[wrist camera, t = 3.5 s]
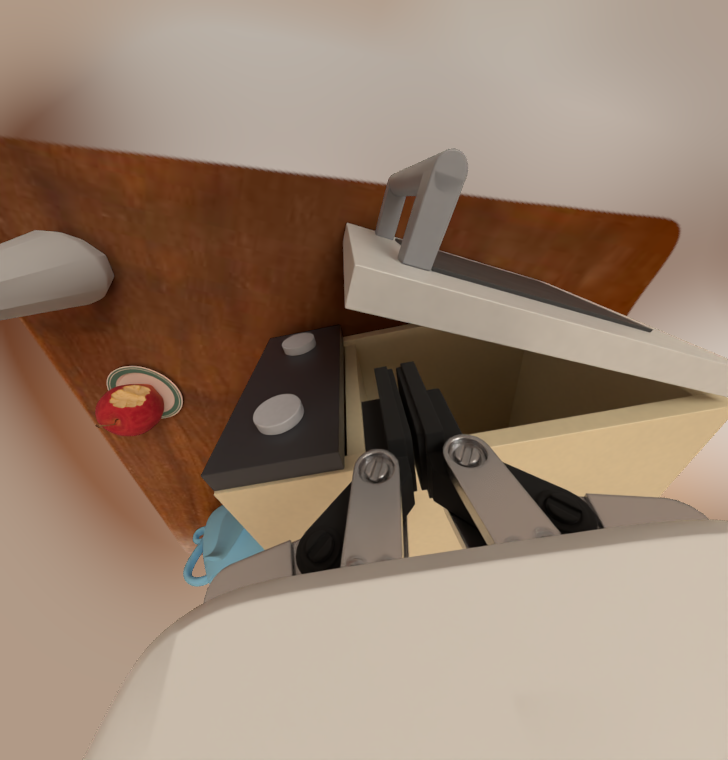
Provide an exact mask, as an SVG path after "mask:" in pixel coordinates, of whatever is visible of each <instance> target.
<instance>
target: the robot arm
mask: <svg viewBox="0 0 728 760" xmlns="http://www.w3.org/2000/svg"><path fill="white" fill-rule="evenodd" d="M374 372H375V378H376V383H377V389H378V394H379V399H375V400H369V401H364V402H361V404H362V416H363V427H364V439H365V450H366V452H365V453H363V454H362V455H361V456H360V457H359V458H358V459H357V461H356V462H355V465H354V469H353V476H352V481H351V482H350V484H349V485H348V486H347V487H346V488H345V489H344V490H343V491H342V492H341V493H340V495H339V496H338V497H337V498H336V499H335V500H334V501H333V502H332V503H331V504H330V506H329V507H328V508H327V509H326V510H325V511H324V512H323V513H322V514H321V515H320V517H319V518H318V519H317V520H316V521H315V522H314V523H313V524H312V525H311V526H310V527H309V529H308V530H307V531H306V532H305V533H304V535H303V536H302V537H301V539H299V540H296V541H294V542H292V541H291V540H288V541H286V542H283V543H281V544H278V545H276V546H274V547H271V548H269V549H266V550H264V551H262V552H259V553H257V554H254V555H252V556H249V557H247V558H245V559H242V560H240V561H237V562H235V563H232V564H230V565H228V566H227V567H225V568H224V569H222V570H221V571H220V572H219V573H218V574H217V575H216V576H215V577H214V578H213V580H212V582H211V583H210V585H209V587H208V589H207V592H206V595H205V598H204V603H203V604H201V605H200V606H198V607H196V608H194V609H193V610H191V611H190V612H188V613H187V614H185V615H184V616H182V617H181V618H179V620H177V621H176V622H174V623H173V624H172V625H171V626H169V627H168V628H167V629H165V630H164V631H163V632H162V633H161V634H160V635H159V636H158V637H157V638H156V639H155V640H154V641H153V642H152V643H151V644H150V645H149V646H148V647H147V648H146V650H145V651H144V652H143V653H142V655H141V656H140V657H139V659H138V660H137V661H136V663H135V664H134V666H133V668H132V669H131V670H130V672H129V674H128V675H127V677H126V678H125V680H124V682H123V683H122V686H121V687H120V689H119V690H118V692H117V694H116V696H115V698H114V699H113V701H112V703H111V705H110V707H109V709H108V711H107V713H106V715H105V716H104V718H103V720H102V722H101V724H100V726H99V727H98V729H97V731H96V733H95V735H94V738H93V739H92V742H91V744H90V746H89V747H88V749H87V751H86V753H85V755H84V757H83V759H82V760H728V521H725V520H709V519H708V518H707V517H706V516H705V515H704V514H703V513H701V512H699V511H698V510H696V509H695V508H693V507H691V506H690V505H687V504H685V503H682V502H680V501H677V500H673V499H668V498H659V497H642V496H624V495H607V494H589V493H586V494H585V496H584V497H582V496H577V495H575V494H574V493H572V492H570V491H568V490H566V489H564V488H561V487H559V486H557V485H554V484H552V483H550V482H547V481H545V480H543V479H541V478H538V477H536V476H534V475H531V474H529V473H527V472H525V471H522V470H520V469H518V468H515V467H513V466H511V465H508V464H506V463H504V462H502V461H501V459H500V458H499V457H498V456H497V455H496V453H495V452H494V451H493V450H492V448H491V447H490V446H489V445H488V444H487V443H486V442H485V441H484V440H482V439H480V438H478V437H476V436H473V435H467V434H462V432H461V430H460V428H459V426H458V424H457V422H456V420H455V418H454V416H453V415H452V413H451V411H450V409H449V407H448V405H447V403H446V401H445V399H444V397H443V395H442V393H441V391H440V389H438V388H436V389H430V390H426V388H425V386H424V384H423V381H422V379H421V377H420V375H419V372H418V370H417V368H416V365H415V363H414V361H412V362H406V363H401V364H400V367H398V368H396V373H397V381H398V387H397V384H396V380H395V377H394V373H393V370H392V369H387V366H385V367H379V368H374ZM398 389H399V390H398ZM415 468H416V471H417V475H418V479H419V482H420V486H421V489H422V490H427V491H428V495H429V498H433V501H434V502H436V503H437V504H439V505H441V506H442V507H443V508H444V512H445V514H446V516H447V518H448V520H449V522H450V525H451V527H452V529H453V531H454V533H455V535H456V537H457V539H458V541H459V543H460V545H461V547H462V549H461V550H454V551H448V552H441V553H434V554H428V555H421V556H414V557H410V553H409V534H408V518H407V515H408V514H409V512H410V511H411V510H412V508H413V507H414V505H415V498H414V492H416V491H417V482H416V472H415Z"/></svg>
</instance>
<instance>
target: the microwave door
mask: <svg viewBox="0 0 728 760" xmlns="http://www.w3.org/2000/svg"><path fill="white" fill-rule="evenodd" d="M467 173H468V163H467V159H466V157H465V155H464V154H463V153H462V152H461V151H460V150H457V149H448V150H446V151H444V152H441V153H439V154H437V155H435V156H432V157H430V158H428V159H426V160H423V161H421V162H419V163H417V164H415V165H412V166H410V167H408V168H406V169H403V170H401V171H399V172H397V173H394V174H393V175H391V176H390V178H389V180H388V183H387V186H386V190H385V194H384V198H383V202H382V206H381V210H380V214H379V218H378V222H377V226H376V230H375V231H373V230H370V229H367V228H363V227H360V226H357V225H353V224H350V223H346V229H345V234H344V239H343V260H344V295H345V308H346V309H350V310H355V311H359V312H363V313H368V314H372V315H376V316H381V317H385V318H389V319H393V320H398V321H402V322H406V323H411V324H415V325H419V326H423V327H428V328H432V329H436V330H441V331H445V332H449V333H454V334H458V335H462V336H466V337H471V338H475V339H479V340H484V341H488V342H492V343H497V344H501V345H505V346H509V347H514V348H518V349H522V350H527V351H531V352H535V353H539V354H544V355H548V356H552V357H557V358H561V359H565V360H570V361H574V362H578V363H582V364H587V365H591V366H595V367H600V368H604V369H608V370H613V371H617V372H621V373H625V374H630V375H634V376H638V377H643V378H647V379H651V380H655V381H660V382H664V383H668V384H673V385H677V386H681V387H686V388H690V389H694V390H698V391H703V392H707V393H711V394H716V395H720V396H724V397H728V359H727V358H725V357H722V356H720V355H718V354H715V353H713V352H710V351H708V350H706V349H703V348H701V347H698V346H696V345H693V344H691V343H689V342H687V341H684V340H682V339H679V338H677V337H675V336H672V335H670V334H667V333H665V332H663V331H660V330H658V329H656V328H653V327H651V326H648V325H646V324H643V323H641V322H639V321H636V320H634V319H632V318H629V317H627V316H624V315H622V314H620V313H617V312H615V311H613V310H610V309H608V308H605V307H603V306H601V305H598V304H596V303H593V302H591V301H589V300H586V299H584V298H581V297H579V296H577V295H574V294H572V293H570V292H567V291H565V290H562V289H560V288H558V287H555V286H553V285H550V284H548V283H546V282H542V281H539V280H536V279H532V278H529V277H526V276H523V275H519V274H516V273H513V272H509V271H506V270H503V269H499V268H496V267H493V266H489V265H486V264H483V263H479V262H476V261H473V260H469V259H466V258H463V257H459V256H456V255H453V254H450V253H446V252H443V251H440V250H439V247H440V245H441V242H442V240H443V237H444V234H445V232H446V229H447V227H448V224H449V221H450V219H451V216H452V214H453V211H454V208H455V206H456V203H457V201H458V198H459V195H460V193H461V190H462V187H463V185H464V182H465V180H466V177H467ZM406 196H416V199H415V202H414V205H413V208H412V212H411V215H410V218H409V221H408V224H407V228H406V231H405V234H404V237H403V239H400V238H396V237H394V236H395V233H396V229H397V226H398V222H399V219H400V215H401V212H402V208H403V205H404V202H405V198H406Z"/></svg>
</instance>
